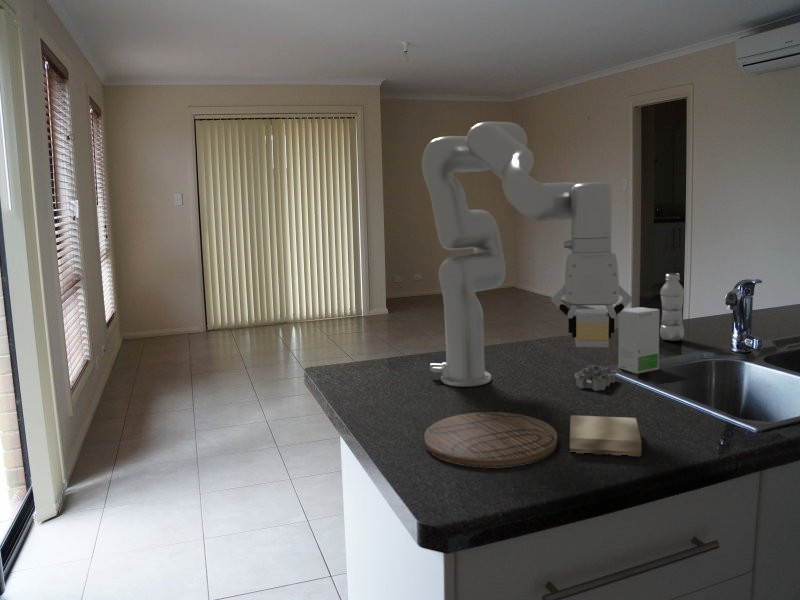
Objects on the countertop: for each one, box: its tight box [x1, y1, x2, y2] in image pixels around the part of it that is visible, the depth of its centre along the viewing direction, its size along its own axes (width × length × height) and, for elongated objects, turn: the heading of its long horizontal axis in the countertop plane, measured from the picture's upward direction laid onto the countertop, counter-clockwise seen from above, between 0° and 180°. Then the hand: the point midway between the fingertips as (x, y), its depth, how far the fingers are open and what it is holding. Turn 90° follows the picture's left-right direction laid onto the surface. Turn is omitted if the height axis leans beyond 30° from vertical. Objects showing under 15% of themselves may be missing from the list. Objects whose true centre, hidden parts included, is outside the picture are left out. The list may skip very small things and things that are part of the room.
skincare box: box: [617, 306, 660, 375], centre depth 168 cm, size 8×7×16 cm
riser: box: [569, 414, 642, 457], centre depth 122 cm, size 12×12×3 cm
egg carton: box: [574, 363, 618, 392], centre depth 158 cm, size 11×8×4 cm
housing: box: [574, 308, 610, 348], centre depth 132 cm, size 6×8×6 cm
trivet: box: [423, 411, 558, 467], centre depth 126 cm, size 25×25×2 cm
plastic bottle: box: [659, 272, 685, 342], centre depth 196 cm, size 6×7×20 cm
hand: (591, 335), depth 132 cm, fingers closed on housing, 6 cm apart
